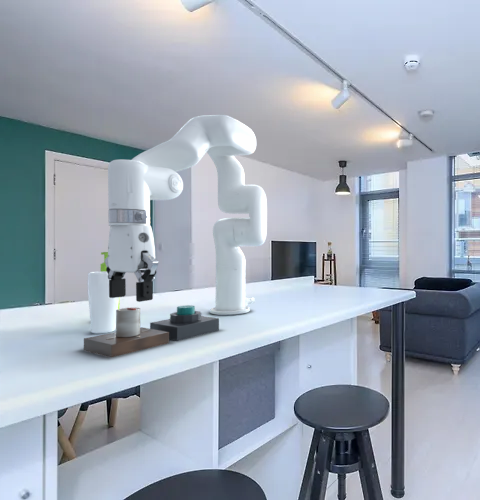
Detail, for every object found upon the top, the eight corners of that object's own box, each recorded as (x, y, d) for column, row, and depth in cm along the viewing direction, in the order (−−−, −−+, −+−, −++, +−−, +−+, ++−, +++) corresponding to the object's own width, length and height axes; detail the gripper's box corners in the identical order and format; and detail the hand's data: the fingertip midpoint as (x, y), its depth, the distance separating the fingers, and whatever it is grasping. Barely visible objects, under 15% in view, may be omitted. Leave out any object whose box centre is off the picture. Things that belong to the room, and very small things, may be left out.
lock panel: (141, 337, 82) (141, 326, 82) (169, 343, 77) (169, 331, 77) (83, 350, 71) (83, 337, 71) (111, 357, 67) (111, 344, 67)
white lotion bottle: (94, 336, 83) (95, 273, 83) (81, 332, 86) (82, 272, 86) (125, 330, 89) (125, 272, 89) (112, 327, 92) (112, 271, 92)
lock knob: (111, 335, 73) (111, 308, 73) (131, 331, 77) (132, 305, 77) (124, 338, 71) (124, 310, 71) (144, 333, 75) (145, 307, 75)
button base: (192, 326, 94) (192, 308, 94) (219, 330, 90) (219, 311, 90) (149, 335, 84) (150, 315, 84) (177, 341, 79) (177, 319, 79)
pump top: (187, 312, 89) (187, 304, 89) (198, 314, 88) (198, 306, 88) (173, 315, 86) (173, 307, 86) (184, 316, 84) (184, 308, 84)
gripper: (172, 219, 74) (172, 299, 74) (124, 221, 82) (125, 293, 82) (136, 217, 67) (137, 305, 68) (88, 219, 75) (89, 298, 76)
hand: (130, 298), depth 75 cm, fingers open, 9 cm apart
